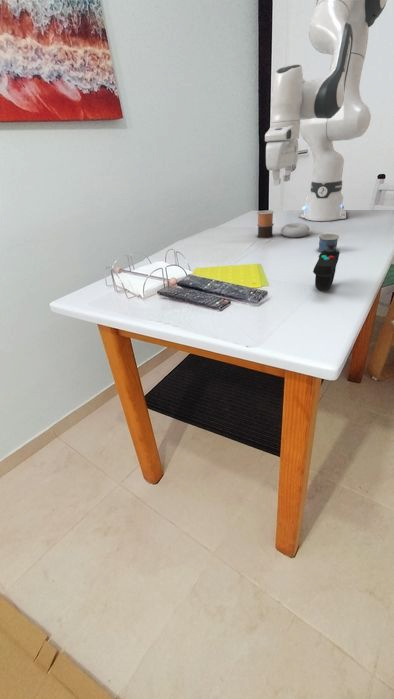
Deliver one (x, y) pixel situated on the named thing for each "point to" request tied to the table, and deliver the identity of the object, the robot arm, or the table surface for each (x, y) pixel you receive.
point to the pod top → (327, 241)
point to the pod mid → (265, 217)
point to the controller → (326, 267)
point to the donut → (295, 230)
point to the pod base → (265, 231)
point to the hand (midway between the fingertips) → (281, 183)
